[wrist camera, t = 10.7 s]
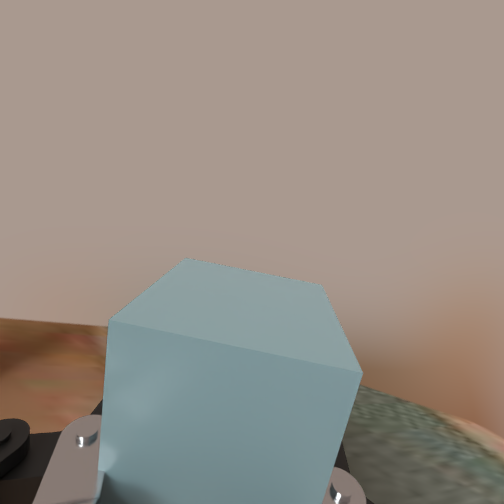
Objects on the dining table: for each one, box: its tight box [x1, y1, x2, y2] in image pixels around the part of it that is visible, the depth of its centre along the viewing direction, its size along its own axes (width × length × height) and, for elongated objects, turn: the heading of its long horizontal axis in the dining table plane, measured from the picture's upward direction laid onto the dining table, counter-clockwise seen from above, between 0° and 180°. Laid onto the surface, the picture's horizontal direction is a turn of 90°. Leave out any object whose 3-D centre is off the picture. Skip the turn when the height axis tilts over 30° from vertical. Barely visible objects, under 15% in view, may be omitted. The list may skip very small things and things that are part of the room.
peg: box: [98, 258, 363, 504], centre depth 9 cm, size 5×5×12 cm
